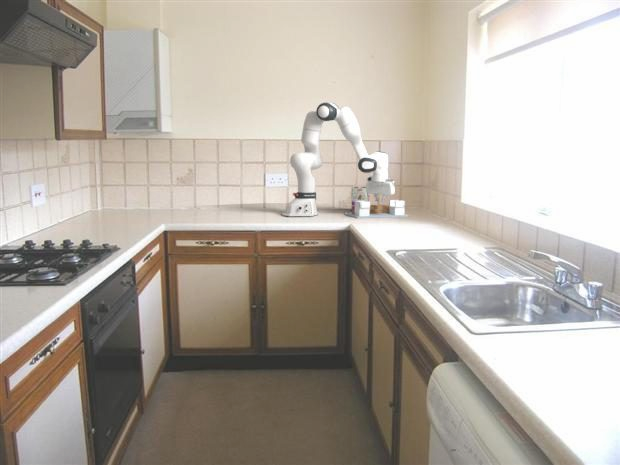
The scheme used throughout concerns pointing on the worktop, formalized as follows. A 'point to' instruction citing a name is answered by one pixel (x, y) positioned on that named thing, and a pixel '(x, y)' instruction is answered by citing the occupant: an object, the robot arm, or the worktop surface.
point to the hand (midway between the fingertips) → (379, 201)
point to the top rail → (377, 209)
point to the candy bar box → (359, 195)
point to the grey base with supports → (364, 208)
